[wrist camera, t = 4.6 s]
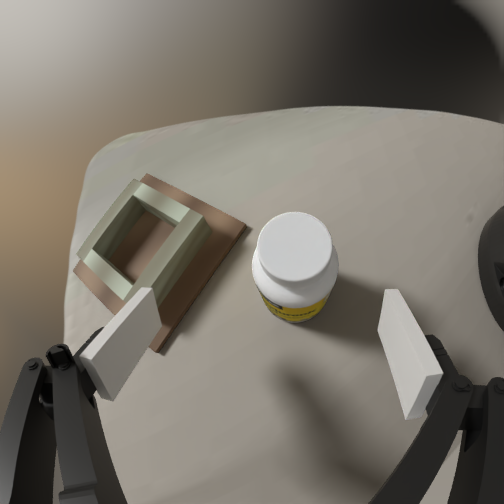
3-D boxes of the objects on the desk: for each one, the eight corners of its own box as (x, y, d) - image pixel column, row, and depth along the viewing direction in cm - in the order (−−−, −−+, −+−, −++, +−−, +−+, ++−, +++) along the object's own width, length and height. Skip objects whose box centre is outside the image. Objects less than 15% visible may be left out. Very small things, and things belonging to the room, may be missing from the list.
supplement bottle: (253, 311, 24) (226, 273, 15) (276, 253, 25) (264, 188, 16) (315, 333, 22) (329, 308, 13) (335, 272, 24) (356, 214, 15)
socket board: (246, 226, 27) (239, 206, 23) (158, 352, 23) (137, 349, 20) (148, 176, 31) (135, 157, 28) (75, 272, 28) (55, 261, 25)
